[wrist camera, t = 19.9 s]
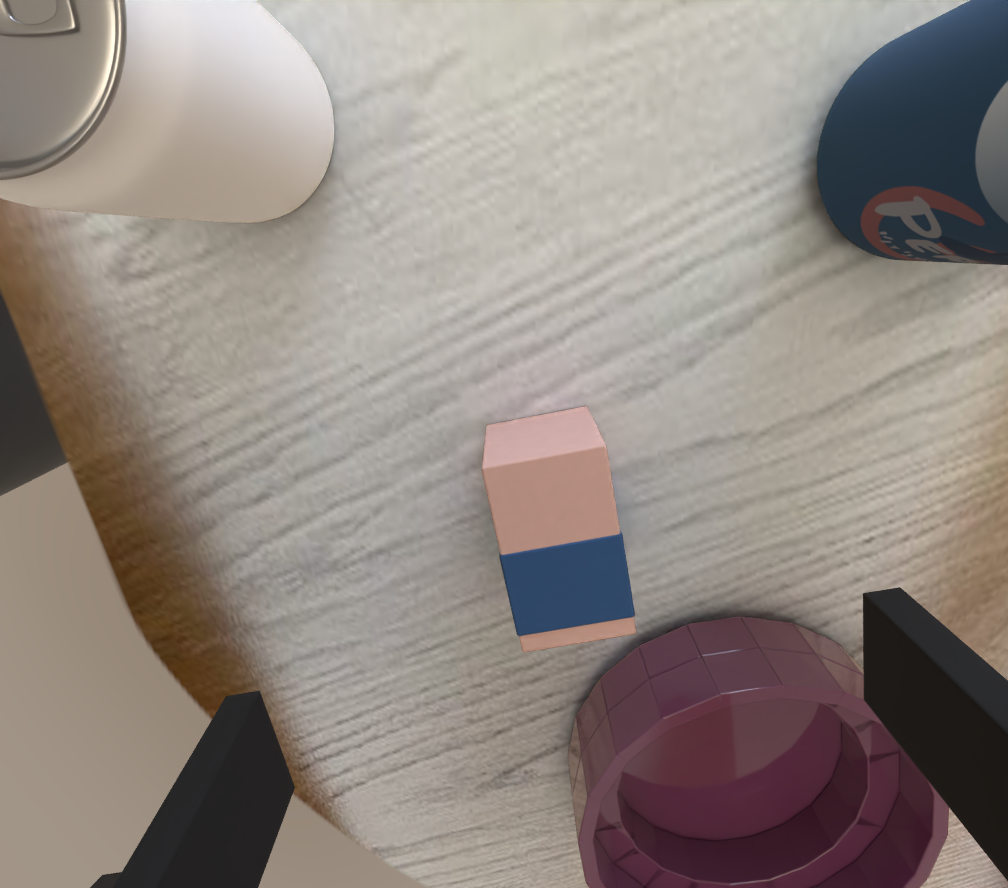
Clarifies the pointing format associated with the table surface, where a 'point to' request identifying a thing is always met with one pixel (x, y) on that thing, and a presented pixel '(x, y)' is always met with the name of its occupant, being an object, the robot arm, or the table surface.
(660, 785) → the bowl
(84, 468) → the table surface
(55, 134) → the can
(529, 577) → the eraser
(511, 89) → the table surface
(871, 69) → the soda can
